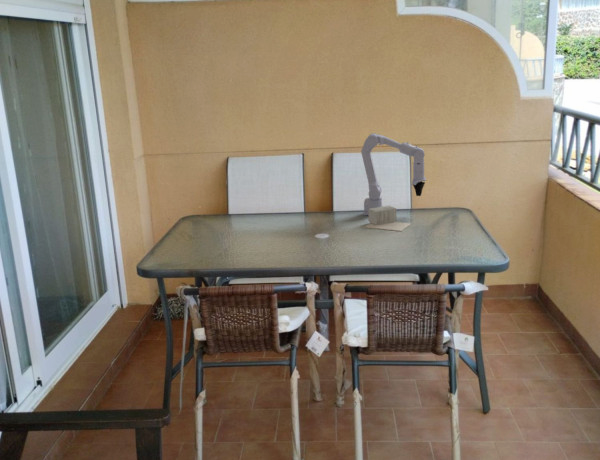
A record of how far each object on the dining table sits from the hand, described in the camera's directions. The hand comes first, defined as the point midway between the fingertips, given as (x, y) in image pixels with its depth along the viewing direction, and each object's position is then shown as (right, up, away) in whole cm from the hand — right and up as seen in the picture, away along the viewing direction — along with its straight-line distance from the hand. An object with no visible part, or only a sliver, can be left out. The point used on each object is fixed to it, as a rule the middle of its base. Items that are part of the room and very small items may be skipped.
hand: (418, 195), depth 324 cm
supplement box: (-15, -10, -9) cm, 20 cm away
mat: (-19, -16, -17) cm, 30 cm away
